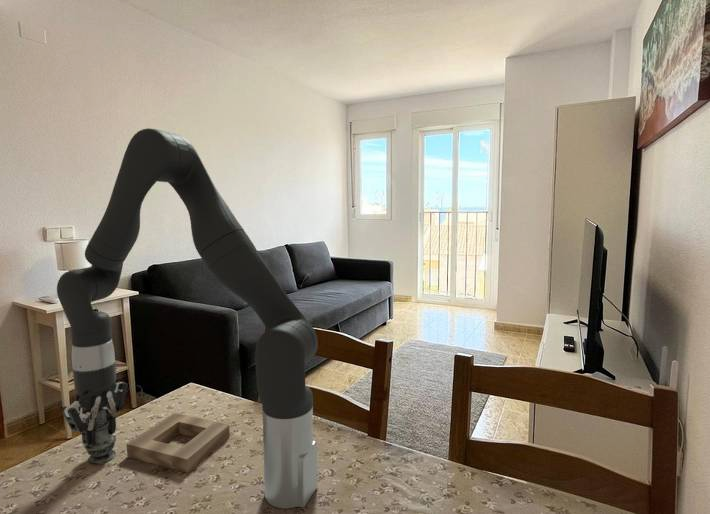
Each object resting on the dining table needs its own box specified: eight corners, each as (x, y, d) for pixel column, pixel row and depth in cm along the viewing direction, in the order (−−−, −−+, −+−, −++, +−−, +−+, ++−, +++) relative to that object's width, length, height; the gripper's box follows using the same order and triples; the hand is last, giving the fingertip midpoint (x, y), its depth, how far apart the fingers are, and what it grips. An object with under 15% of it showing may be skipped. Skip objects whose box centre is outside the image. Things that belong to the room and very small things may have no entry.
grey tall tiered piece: (123, 450, 92) (119, 399, 90) (105, 466, 86) (100, 412, 84) (98, 448, 92) (94, 397, 91) (78, 465, 87) (73, 411, 85)
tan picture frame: (229, 436, 98) (229, 424, 97) (187, 473, 84) (187, 459, 84) (174, 424, 103) (174, 412, 102) (127, 456, 90) (126, 443, 89)
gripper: (74, 378, 79) (81, 462, 81) (136, 353, 92) (141, 425, 94) (46, 373, 81) (54, 454, 83) (110, 348, 94) (115, 419, 97)
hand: (100, 438), depth 89 cm, fingers closed on grey tall tiered piece, 4 cm apart
